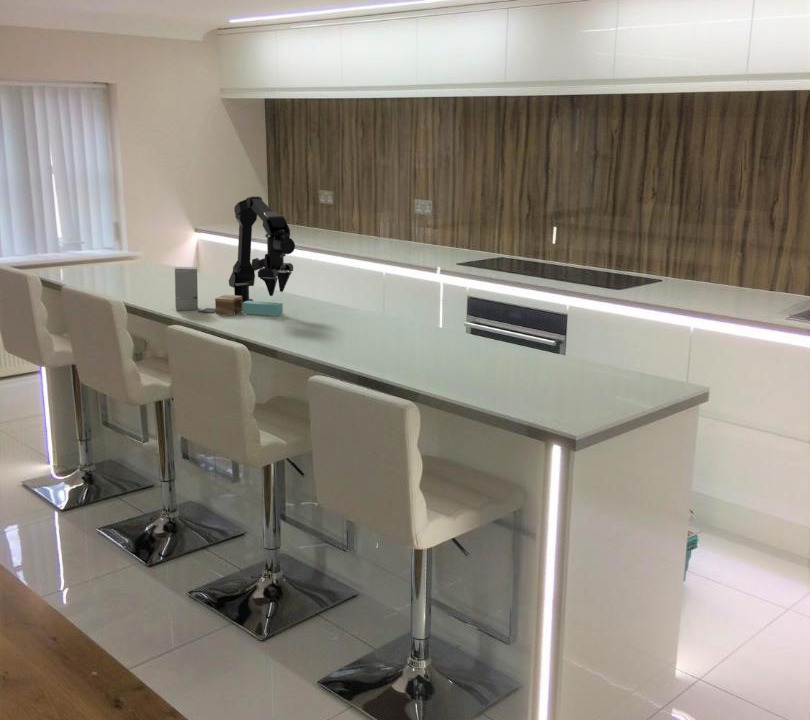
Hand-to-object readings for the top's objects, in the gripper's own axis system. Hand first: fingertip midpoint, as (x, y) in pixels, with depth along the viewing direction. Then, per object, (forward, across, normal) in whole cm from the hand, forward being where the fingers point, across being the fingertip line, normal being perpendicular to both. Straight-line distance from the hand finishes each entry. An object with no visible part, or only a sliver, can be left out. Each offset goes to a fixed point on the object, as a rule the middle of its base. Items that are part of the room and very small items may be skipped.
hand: (276, 293), depth 326 cm
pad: (+8, 0, -5) cm, 10 cm away
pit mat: (+8, 0, -27) cm, 28 cm away
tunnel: (+8, 0, -19) cm, 21 cm away
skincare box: (+8, -1, -37) cm, 38 cm away
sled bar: (+8, 0, -6) cm, 10 cm away
